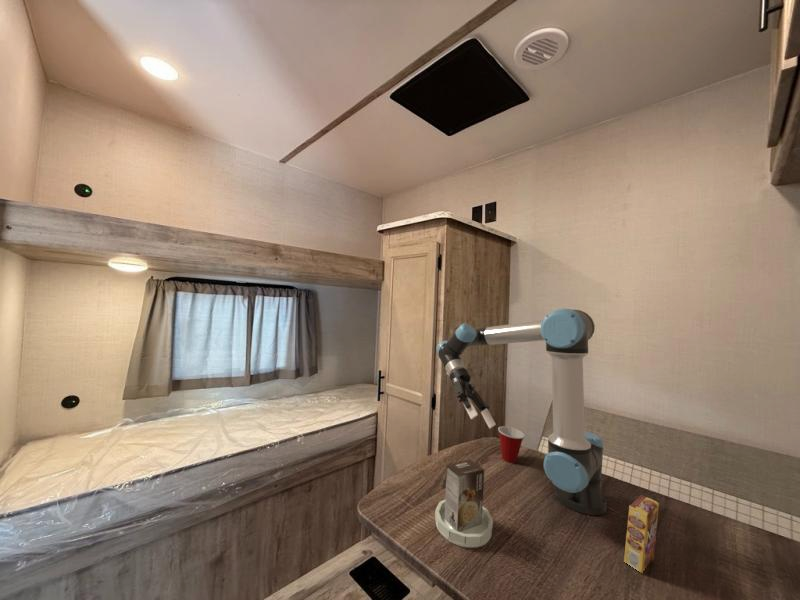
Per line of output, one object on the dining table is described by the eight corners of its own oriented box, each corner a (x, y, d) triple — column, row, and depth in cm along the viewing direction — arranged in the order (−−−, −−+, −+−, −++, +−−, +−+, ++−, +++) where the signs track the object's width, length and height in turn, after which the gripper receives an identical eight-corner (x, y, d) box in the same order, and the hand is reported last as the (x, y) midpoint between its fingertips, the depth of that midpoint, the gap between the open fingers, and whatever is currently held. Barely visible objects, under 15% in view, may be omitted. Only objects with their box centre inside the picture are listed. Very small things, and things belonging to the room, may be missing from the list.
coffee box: (467, 510, 93) (470, 458, 93) (482, 524, 87) (485, 469, 87) (443, 518, 89) (446, 464, 89) (456, 534, 83) (460, 476, 83)
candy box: (643, 576, 75) (647, 514, 74) (623, 563, 78) (626, 504, 78) (656, 560, 80) (659, 502, 80) (636, 548, 83) (639, 493, 83)
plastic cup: (527, 467, 122) (529, 437, 122) (500, 465, 122) (502, 435, 122) (517, 453, 133) (519, 426, 133) (493, 451, 133) (494, 424, 133)
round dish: (479, 505, 97) (479, 496, 97) (501, 546, 81) (502, 535, 81) (430, 506, 95) (431, 497, 95) (443, 548, 79) (443, 537, 79)
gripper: (466, 388, 128) (491, 435, 112) (433, 368, 113) (456, 419, 97) (480, 378, 126) (507, 424, 110) (448, 356, 111) (475, 406, 95)
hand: (484, 422), depth 104 cm, fingers open, 13 cm apart
